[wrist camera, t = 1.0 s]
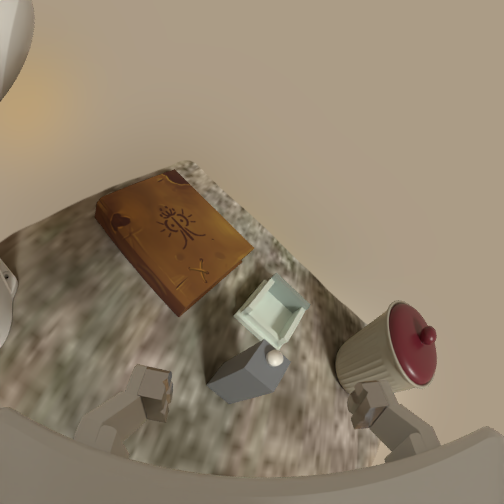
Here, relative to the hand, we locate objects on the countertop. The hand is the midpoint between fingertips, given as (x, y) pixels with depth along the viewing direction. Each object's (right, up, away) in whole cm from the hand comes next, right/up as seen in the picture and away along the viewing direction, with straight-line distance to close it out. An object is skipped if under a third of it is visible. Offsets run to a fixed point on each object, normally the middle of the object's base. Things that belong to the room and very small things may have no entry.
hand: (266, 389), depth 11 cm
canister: (+21, -20, +42) cm, 51 cm away
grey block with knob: (-4, -14, +28) cm, 32 cm away
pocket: (+2, -6, +40) cm, 41 cm away
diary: (-16, +7, +39) cm, 43 cm away
